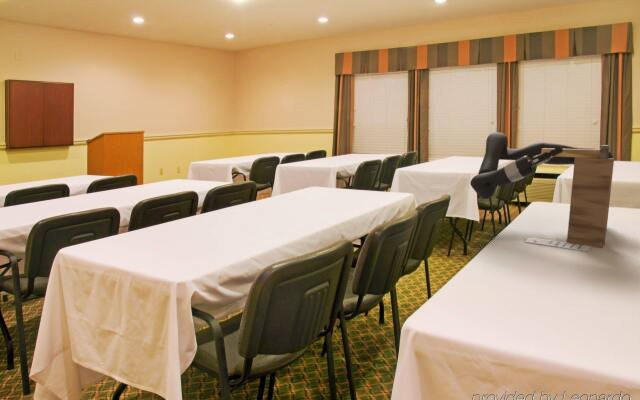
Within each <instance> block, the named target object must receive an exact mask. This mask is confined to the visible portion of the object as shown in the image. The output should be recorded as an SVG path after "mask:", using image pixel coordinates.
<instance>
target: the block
mask: <svg viewBox="0 0 640 400" xmlns="http://www.w3.org/2000/svg"><path fill="white" fill-rule="evenodd" d="M551 150H553V148H543V149H542V151H541V153H545V152H548V151H550V152H551ZM562 150H563V152H561V153H559V154H557V155H555V156H553V155H552V156H553V157H585V158H599V156H600V150H596V149H562Z"/></svg>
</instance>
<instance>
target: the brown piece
mask: <svg viewBox="0 0 640 400" xmlns="http://www.w3.org/2000/svg"><path fill="white" fill-rule="evenodd" d="M599 148H600V156H599V158H585V157H575V160H574V164H573V174H572V183H571V184H572V185H571V194H570V205H569V214H568V215H569V216H568V217H569V218H568V224H567V225H568V227H567V237H566V243H571V244H578V245H585V246H591V247H596V248H601V249H603V248H604V247H605V245H606V238H607V230H608V222H609V221H608V220H609V219H608V218H609V211H610V203H611V202H610V200H611V192H612V191H611V190H612V182H613V173H614V165H615V158H614V157H613V158H608V154H609V152H610V151H609V150H610V144H603V145H602V144H601V145H600V147H599Z"/></svg>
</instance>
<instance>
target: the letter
mask: <svg viewBox="0 0 640 400" xmlns="http://www.w3.org/2000/svg"><path fill="white" fill-rule="evenodd" d="M524 243H527V244H534V245H538V246H546V247H554V248H560V249H564V250H565V249H566V250H570V251H571V250H572V251H578V252H583V253H584V252H585V253H588V251H589V250H590V249H591V248H592V246H588V245H581V244H575V243H568V242H565V241H564V242H563V241H558V240H552V239H551V240H550V239H543V238H538V237H529V238H528V239H527V240H525V241H524Z"/></svg>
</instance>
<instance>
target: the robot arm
mask: <svg viewBox="0 0 640 400" xmlns="http://www.w3.org/2000/svg"><path fill="white" fill-rule="evenodd" d="M485 140H486V142H485V143H486V144H485V153H484V157H483V159H482V162H481V164H480V168H479V171H478V174H477V175H475V176H473V178H472V179H470V186H471V188H472V189H473V190H474V192H476V194H477V196H479V198H480V199H483V200H488V199H490V198H491V197H493V196H494V194H495V193H496V190H497V189H496V188H497V186H498V187H500V188H503V187H505V186H507V185H509V184H510V185H511V184H512V183H514V182H517V181H520V180H522V179H524V178H526V177H529V176H531V175H533V174H535V173H536V167H535V166H537V167H538V166H539V167H540V166H542V165H543V164H545V165H556V166H557V165H561V166H562V165H574V160H575V157H553V156H555V155H557V154H559V153H561V152H563V150H562V149H596V150H600V147H597V148H595V147H594V148H590V147H589V148H588V147H587V148H586V147H585V148H584V147H583V148H582V147H576V146H575V147H574V146H569V145H565V144H560V143H555V142H554V143H552V142H546V141H545V142H544V141H538V142H534V143H532V144H529V145H527V146H524V147H520V148H508V136H507V135H506V134H505V133H502V132H492V133H490V134H489V135H488V136H487V138H486V139H485ZM543 148H553V150H551V152H550V151H548V152H545V153H541V151H542V149H543ZM552 155H553V156H552ZM608 158H614V156H613V154H612V152H610V151H609V154H608ZM500 161H512V162H510V163H508V164H506V165H505V166H503V167H501V168H499V163H500Z"/></svg>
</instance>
